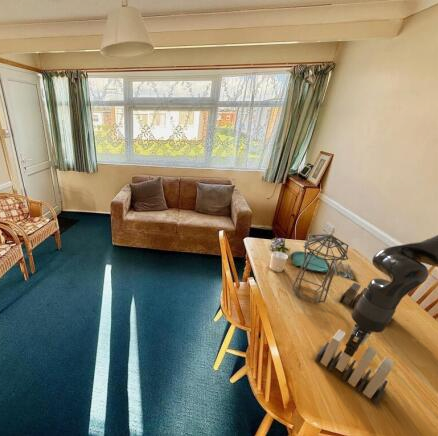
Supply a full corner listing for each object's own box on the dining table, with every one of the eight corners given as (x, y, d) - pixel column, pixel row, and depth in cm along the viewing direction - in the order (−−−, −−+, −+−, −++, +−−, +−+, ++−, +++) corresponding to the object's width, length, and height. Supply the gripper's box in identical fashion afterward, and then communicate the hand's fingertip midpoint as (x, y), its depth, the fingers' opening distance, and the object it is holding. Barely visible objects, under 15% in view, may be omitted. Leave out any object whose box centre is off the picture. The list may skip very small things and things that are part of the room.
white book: (348, 362, 79) (363, 336, 74) (342, 372, 76) (357, 346, 71) (341, 357, 81) (355, 332, 75) (335, 367, 78) (349, 341, 72)
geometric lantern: (326, 295, 113) (353, 233, 98) (324, 315, 102) (353, 249, 87) (290, 281, 122) (310, 223, 107) (284, 298, 111) (305, 236, 96)
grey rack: (391, 319, 100) (402, 302, 95) (386, 328, 96) (397, 311, 91) (343, 296, 113) (351, 280, 108) (337, 303, 108) (345, 286, 104)
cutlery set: (290, 250, 149) (291, 248, 148) (348, 265, 135) (350, 262, 134) (289, 266, 134) (290, 263, 133) (354, 285, 119) (356, 281, 118)
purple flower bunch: (270, 256, 153) (269, 238, 155) (289, 257, 148) (288, 239, 151) (270, 255, 143) (270, 236, 145) (291, 256, 138) (290, 236, 141)
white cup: (265, 266, 134) (269, 251, 130) (277, 264, 136) (281, 250, 132) (274, 274, 127) (278, 259, 123) (286, 272, 129) (291, 258, 124)
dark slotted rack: (382, 391, 74) (402, 364, 68) (374, 407, 70) (395, 380, 64) (322, 350, 87) (335, 324, 81) (312, 361, 83) (325, 335, 77)
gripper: (382, 332, 61) (358, 371, 69) (396, 308, 69) (373, 345, 76) (348, 314, 67) (329, 351, 74) (364, 294, 74) (345, 329, 81)
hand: (351, 348), depth 75 cm, fingers closed on white book, 6 cm apart
